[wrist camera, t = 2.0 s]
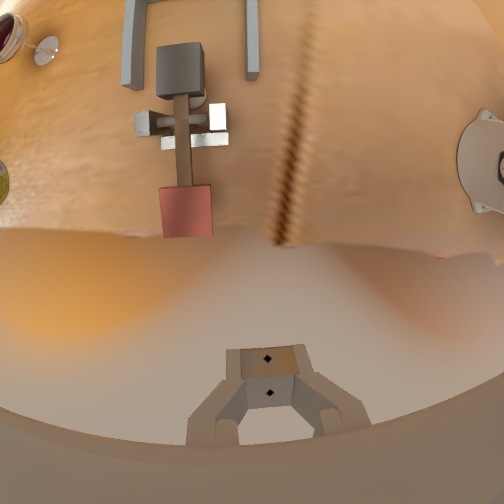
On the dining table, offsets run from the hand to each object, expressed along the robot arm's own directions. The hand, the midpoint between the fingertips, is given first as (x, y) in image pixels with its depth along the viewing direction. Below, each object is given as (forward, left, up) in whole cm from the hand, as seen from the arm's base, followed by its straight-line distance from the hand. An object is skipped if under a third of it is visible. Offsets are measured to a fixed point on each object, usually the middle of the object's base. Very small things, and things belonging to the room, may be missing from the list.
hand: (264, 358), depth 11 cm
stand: (+6, -10, -29) cm, 31 cm away
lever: (+6, -8, -28) cm, 29 cm away
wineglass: (+29, -26, -29) cm, 48 cm away
